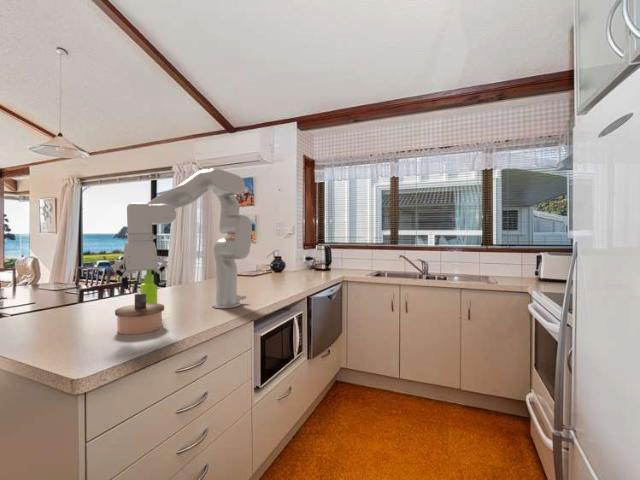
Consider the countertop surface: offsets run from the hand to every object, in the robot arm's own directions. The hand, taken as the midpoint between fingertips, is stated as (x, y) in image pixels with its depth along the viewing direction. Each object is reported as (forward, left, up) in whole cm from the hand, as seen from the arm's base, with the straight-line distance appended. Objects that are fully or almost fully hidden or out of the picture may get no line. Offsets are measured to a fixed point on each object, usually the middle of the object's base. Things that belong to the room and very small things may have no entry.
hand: (141, 286), depth 108 cm
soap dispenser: (-7, -18, -15) cm, 24 cm away
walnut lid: (0, 0, -9) cm, 9 cm away
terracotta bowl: (+1, 0, -15) cm, 15 cm away
